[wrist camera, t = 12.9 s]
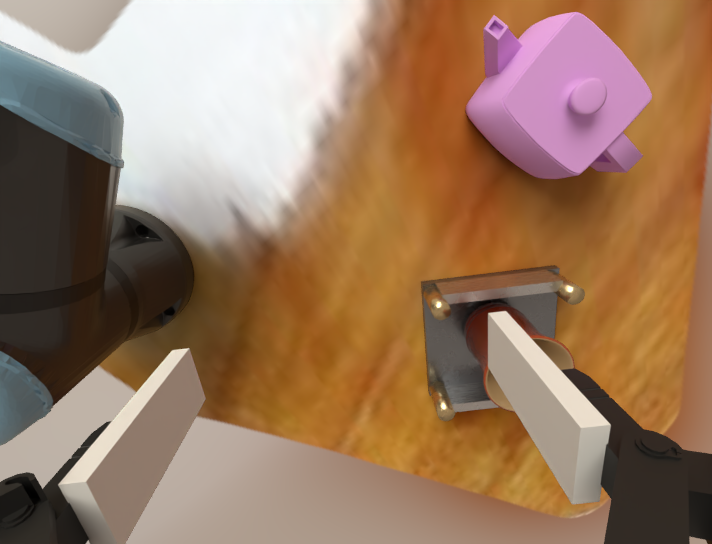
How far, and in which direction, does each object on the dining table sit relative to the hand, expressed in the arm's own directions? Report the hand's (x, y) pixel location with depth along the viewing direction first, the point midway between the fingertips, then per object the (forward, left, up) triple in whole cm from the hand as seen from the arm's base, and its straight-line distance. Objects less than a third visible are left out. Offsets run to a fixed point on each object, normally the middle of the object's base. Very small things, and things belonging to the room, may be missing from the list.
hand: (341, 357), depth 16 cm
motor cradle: (+16, -16, -27) cm, 35 cm away
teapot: (+20, +10, -27) cm, 35 cm away
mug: (+17, -16, -26) cm, 35 cm away
